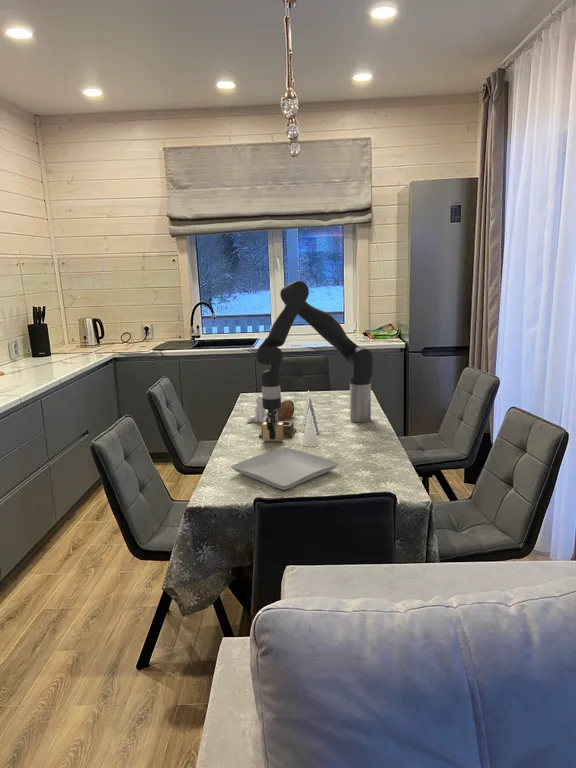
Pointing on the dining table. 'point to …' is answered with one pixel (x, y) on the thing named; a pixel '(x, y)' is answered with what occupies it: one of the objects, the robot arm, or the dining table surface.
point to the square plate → (285, 467)
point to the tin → (285, 410)
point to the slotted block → (285, 429)
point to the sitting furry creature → (258, 412)
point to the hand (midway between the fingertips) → (273, 437)
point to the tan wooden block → (278, 432)
